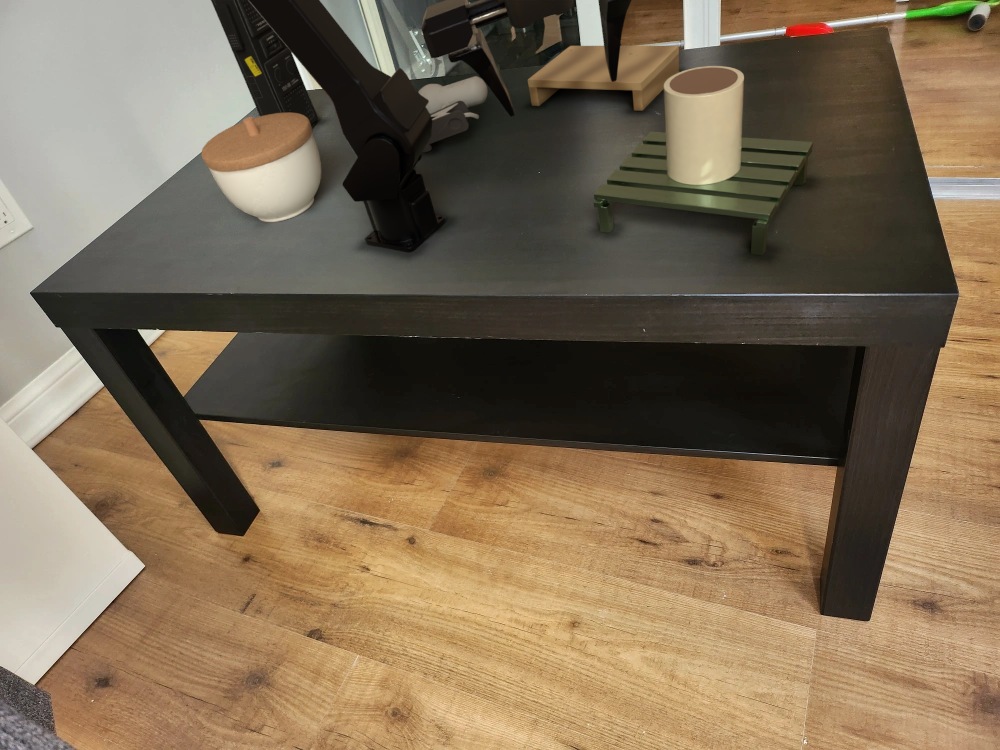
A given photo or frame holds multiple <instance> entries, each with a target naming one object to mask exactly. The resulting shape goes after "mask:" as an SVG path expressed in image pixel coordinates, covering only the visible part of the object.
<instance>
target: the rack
mask: <svg viewBox="0 0 1000 750" xmlns="http://www.w3.org/2000/svg"><path fill="white" fill-rule="evenodd" d="M813 146H814V141H806V140H805V141H804V140H789V139H788V140H787V139H775V138H774V139H773V138H756V137H742V152H741V168H740V170H739V171H738V172H737V173H736V174H735V175H734V176H732V177H730V178H729V179H726V180H724V181H721V182H717V183H713V184H706V185H689V184H683V183H680V182H677V181H675V180H673V179H671V178H670V177H669V176H668V174H667V162H666V136H665V131H664V132H661V131H649V133H648V134H647V135H646V136H644V138H643V139H642V143H639V144H638V145H637V146H636V147H635V148H634V149H633V150H632V151H631V153H630V154H631V156H627V157H625V159H624V160H622V162H621V163H620V164H619V167H618V168H619V169H615V170H614V171H613V172H612V173H611V174H610V175H609V177H607V179H606V183H602V184H601V185H600V186H599V188H597V189H596V191H595V192H594V193H593V199H594V201H593V202H592V203H593V207H594V208H595V209H597V214H598V223H599V232H600V233H605V234H610V233H611V232H612V230H613V229H614V220H613V219H614V217H613V209H612V203H613V202H614V203H619V204H620V203H622V204H628V205H629V204H630V205H639V206H646V207H654V208H661V209H662V208H663V209H672V210H679V211H680V210H681V211H688V212H695V213H705V214H713V215H719V216H722V215H723V216H727V217H729V216H730V217H737V218H744V219H745V218H746V219H754V220H755V221H754V222H753V224H752V226H751V227H752V228H751V244H750V247H751V248H750V254H751V255H756V256H764V254H765V253H766V251H767V243H768V242H767V241H768V226H769V225H770V223H771V221H772V219H773V218H774V216H775V214H776V213H777V211H778V209H779V207H780V206H781V204H782V203H783V202H784V199H785V198H786V196H787V194H788V193H789V191H790V189H791V188H792V186H793V185H795V186H796V185H797V186H804V184H805V183H806V181H807V175H808V165H809V157H810V156H811V154H812V152H813V148H814V147H813Z"/></svg>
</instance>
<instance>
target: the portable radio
mask: <svg viewBox="0 0 1000 750" xmlns="http://www.w3.org/2000/svg"><path fill="white" fill-rule="evenodd" d="M210 2H211V4H212V6H213V8H214V12H215V13H216V15H217V18H218V20H219V23H220V25H221V27H222V31H223V32H224V34H225V37H226V39H227V42H228V44H229V46H230V49H231V52H232V54H233V56H234V58H235V61H236V64H237V66H238V68H239V71H240V72H241V75H242V77H243V80H244V83H245V84H246V87H247V89H248V91H249V93H250V96H251V98H252V101H253V103H254V106H255V108H256V111H257V113H258V115H259V116H258V117H260V116H264V115H269V114H275V113H298V114H302V115H304V116H305V117H307V118H308V120H309V122H310V124H311V127H314V126H315V125H316V124H317V123H318V122H319V119H320V118H319V116H318V113H317V110H316V108H315V106H314V104H313V102H312V100H311V97H310V95H309V92H308V90H307V87H306V85H305V83H304V80H303V78H302V75H301V72H300V70H299V67H298V65H297V63H296V60H295V56H294V54H293V53H292V52H291V51H290V50H289V49H288V47H287V46H286V45H285V44H284V43H283V41H282V40H281V39H280V38H279V37H278V35H277V34H276V33H275V32H274V31H273V29H272V28H271V27H270V26H269V25H268V23H267V22H266V21H265V20H264V19H263V17H262V16H261V15H260V14H259V13H258V12H257V10H256V9H255V8H254V7H253V6H252V4H251V3H250V2H249V1H248V0H210Z"/></svg>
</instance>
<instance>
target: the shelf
mask: <svg viewBox="0 0 1000 750" xmlns="http://www.w3.org/2000/svg"><path fill="white" fill-rule="evenodd" d="M679 72H680V45H620V54H619V63H618V72H617V80H616V81H614V82H612V81H611V79H610V75H609V71H608V67H607V63H606V58H605V50H604V45H569V46H568V47H567V48H565V49H563V50H562V51H561V53H559V54H558V55H557V56H555V57H554V58H552V60H550V61H549V62H548V63H546V64H545V65H544V66H543V67H541V69H539V70H537V72H535V73H534V74H533V75H531V76H530V77H529V78H528V79H527V84H528V90H529V97H530V103H531V106H533V107H540V106H541V105H542V104H544V103H545V102H546V101H547V100H549V98H551V97H552V96H553V95H554V94H555V93H556V92H558V91H559V90H560V89H573V90H574V89H577V90H578V89H579V90H581V89H582V90H608V91H609V90H610V91H632V104H633V111H635V112H637V111H638V112H643V111H644V110H645V109H646V108H647V107H648V106H649V105H650V104H651V103H652V101H654V100H655V99H656V98H657V96H658V95H660V94H661V93H662V91H664V83H665V82H666V80H667V79H669V78H670V77H671V76H673V75H675V74H677V73H679Z"/></svg>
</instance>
